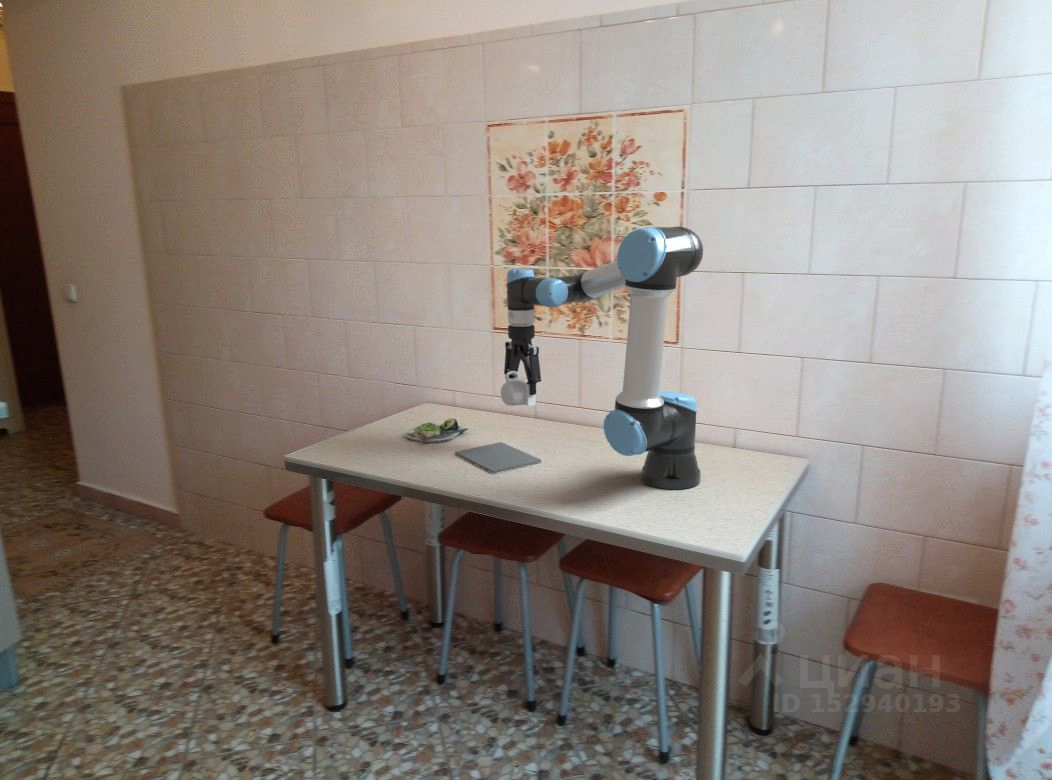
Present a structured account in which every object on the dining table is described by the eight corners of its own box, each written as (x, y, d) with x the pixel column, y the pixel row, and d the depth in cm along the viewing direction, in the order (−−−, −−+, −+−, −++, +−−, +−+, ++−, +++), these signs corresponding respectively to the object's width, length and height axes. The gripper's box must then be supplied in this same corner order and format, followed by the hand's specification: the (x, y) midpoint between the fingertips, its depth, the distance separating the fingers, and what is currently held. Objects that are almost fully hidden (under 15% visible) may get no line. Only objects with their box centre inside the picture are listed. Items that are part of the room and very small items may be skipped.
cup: (502, 367, 206) (526, 363, 211) (491, 379, 213) (514, 376, 217) (516, 400, 203) (539, 396, 208) (504, 413, 209) (526, 408, 214)
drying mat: (541, 462, 206) (541, 459, 206) (493, 474, 197) (493, 471, 197) (501, 444, 223) (501, 442, 223) (455, 454, 214) (455, 451, 214)
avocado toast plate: (443, 449, 221) (443, 434, 219) (393, 443, 227) (392, 429, 226) (472, 431, 238) (472, 418, 237) (424, 426, 245) (424, 413, 244)
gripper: (490, 321, 213) (492, 397, 218) (531, 329, 196) (532, 411, 201) (512, 319, 217) (513, 394, 222) (553, 327, 200) (554, 407, 205)
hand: (522, 402), depth 212 cm, fingers closed on cup, 8 cm apart
